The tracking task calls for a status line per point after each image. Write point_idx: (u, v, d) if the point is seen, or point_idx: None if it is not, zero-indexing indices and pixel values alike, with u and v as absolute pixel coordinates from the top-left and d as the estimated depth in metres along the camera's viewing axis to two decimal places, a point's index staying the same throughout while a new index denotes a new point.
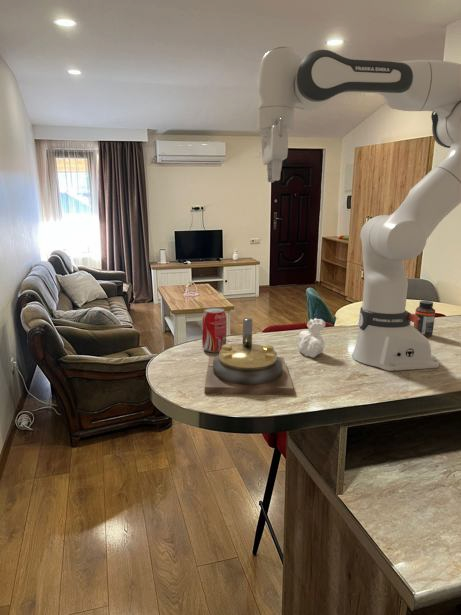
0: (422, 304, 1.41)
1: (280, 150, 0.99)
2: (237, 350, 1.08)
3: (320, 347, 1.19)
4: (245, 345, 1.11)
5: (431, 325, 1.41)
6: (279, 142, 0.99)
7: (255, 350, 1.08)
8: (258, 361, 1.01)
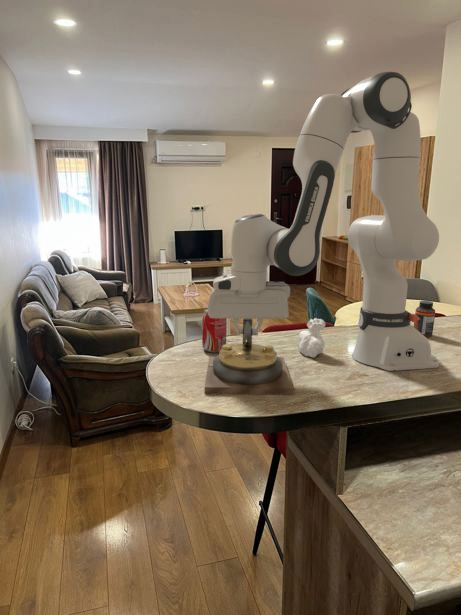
0: (422, 304, 1.41)
1: None
2: (237, 350, 1.08)
3: (320, 347, 1.19)
4: (245, 345, 1.11)
5: (431, 325, 1.41)
6: None
7: (255, 350, 1.08)
8: (258, 361, 1.01)
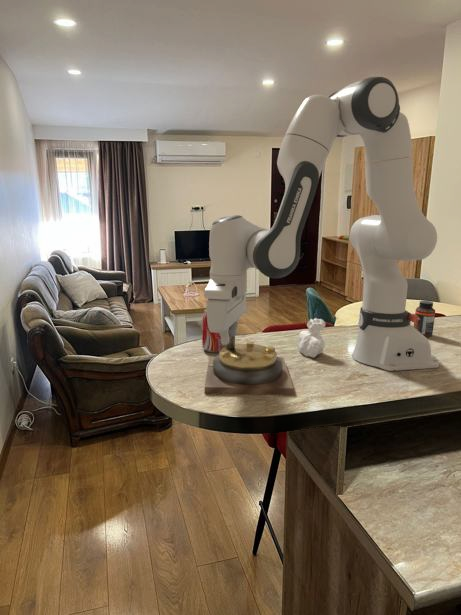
0: (422, 304, 1.41)
1: None
2: (236, 354, 1.06)
3: (320, 347, 1.19)
4: (232, 348, 1.09)
5: (431, 325, 1.41)
6: None
7: (246, 349, 1.09)
8: (271, 355, 1.05)
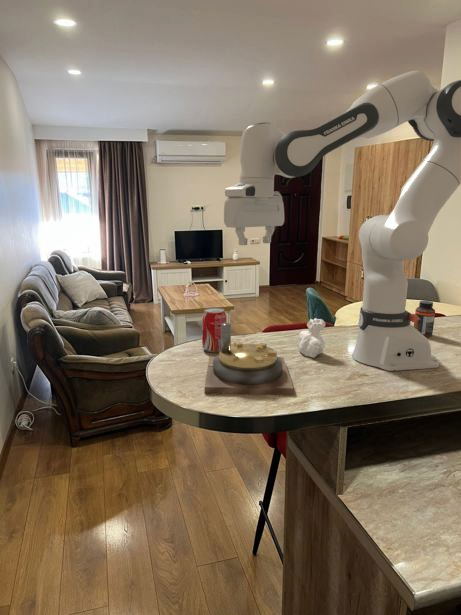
0: (421, 304, 1.41)
1: None
2: (239, 356, 1.04)
3: (320, 347, 1.19)
4: (229, 350, 1.07)
5: (431, 325, 1.41)
6: None
7: (241, 349, 1.09)
8: None
